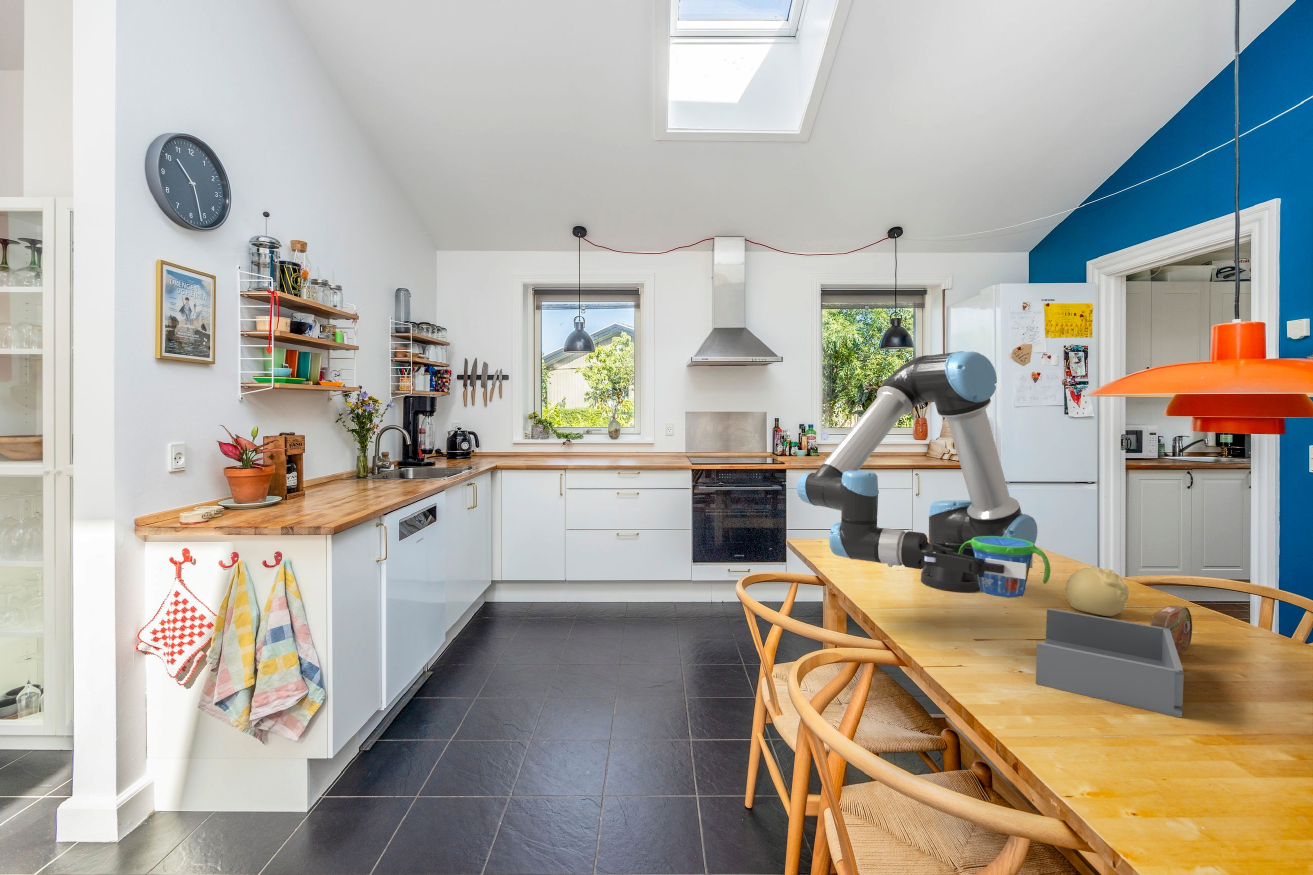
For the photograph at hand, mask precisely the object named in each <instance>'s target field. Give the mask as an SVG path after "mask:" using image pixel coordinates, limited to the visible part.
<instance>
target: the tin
mask: <svg viewBox="0 0 1313 875" xmlns="http://www.w3.org/2000/svg"><path fill="white" fill-rule="evenodd" d="M1149 625H1150V626H1156V627H1162V628H1168V629H1170V631H1171V634H1172V638H1173V641H1174V644H1175V647H1176V650H1177V653H1178V655H1180V654H1181V653H1183V652H1184V651H1186V650H1187V649H1189V646H1190V645H1191V641H1192V636H1193V619H1192V614H1191V611H1190V610H1189V608H1188V607H1186V606H1180V605H1179V606H1178V605H1168V606H1166V607H1164V608H1162V609H1161V610H1158V611H1156V612H1155V613H1154V614H1153V615H1152V617H1151V620H1150V624H1149Z"/></svg>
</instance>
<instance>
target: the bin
mask: <svg viewBox="0 0 1313 875" xmlns="http://www.w3.org/2000/svg"><path fill="white" fill-rule="evenodd" d="M1045 627H1046V628H1045V630H1046V631H1045V641H1044V642H1040V641H1037V642H1036V659H1035V660H1036V661H1035V664H1036V665H1035V666H1036V669H1035V684H1036V685H1039V686H1043V687H1048V688H1051V689H1056V690H1060V691H1061V690H1062V691H1065V692H1069V693H1075V694H1078V695H1082V696H1087V697H1091V698H1094V699H1100V700H1103V701H1108V702H1112V703H1117V704H1122V705H1126V706H1129V707H1134V708H1138V709H1143V710H1145V711H1151V712H1156V713H1159V714H1163V715H1166V716H1167V715H1168V716H1172V717H1175V718H1176V717H1177V718H1183V700H1184V679H1185V678H1184V677H1185V672H1184V670H1183V666H1182V663H1181V659H1180V657H1179V654H1178V653H1177V650H1176V647H1175V644H1174V641H1173V638H1172V634H1171V631H1170V629H1168V628H1162V627H1156V626H1150V624H1144V623H1138V622H1133V621H1131V622H1130V621H1127V620H1119V619H1114V618H1108V617H1104V616H1103V617H1102V616H1096V615H1090V614H1084V613H1080V612H1079V613H1078V612H1072V611H1066V610H1060V609H1055V608H1050V607H1049V608H1047V609H1046V626H1045Z"/></svg>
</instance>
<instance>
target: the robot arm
mask: <svg viewBox="0 0 1313 875" xmlns="http://www.w3.org/2000/svg"><path fill="white" fill-rule="evenodd" d="M997 378H998V377H997V372H996V370H995V367H994V364H993V363H992V362H991V360H990V359H989V358H987V357H986V356H985V355H984V354H981V353H980V352H977V351H962V350H961V351H956V352H947V353H939V354H930V355H929V354H927V355H921V356H917V357H914V358H912V359H910V360H909V361H907V362H906V363H904V364H903V365H901V366H900V367H898V368H897V369H896V370H895V371H894V372H892V374H890V376H889V377H888V378H886V379H885V381H884V382H883V383H882V384H881V386H880V387H879V388H878V390H877V391H876V396H877V397H875V399H874V400H873V401H872V403H871V404H870V405H869V407H868V408H867V409H866V410H865V412H863V414H862V415H861V417H860V418H859V419H858V420H857V421H856V423H855V424H854V425H853V426H852V427H851V428H850V430H849V431H848V432H847V433H846V435H845V436H844V437H843V438H842V439H841V440H840V442H839V443H838V445H836V447H835V448H834V450H832V452H831V453H830V454H829V455H828V456H827V458H826V459H824V462H822V464H821V465H820V466H819V468H818V469H817V470H816V471H815V472H808V473H805V474H803V475H801V476H800V477H799V479H798V481H797V484H796V492H797V495H798V497H799V499H800V500H801V501H802V502H804V503H806V504H809V505H812V506H814V507H823V508H828V509H832V510H836V511H841V515H840V516H841V520H840V522H835V523H834V524H832V526H831V529H830V531H829V532H830V534H829V536H828V543H829V549H830V551H831V553H832V554H833V555H835V556H838V557H843V558H846V559H850V560H858V561H865V562H872V563H879V564H887V567H889V568H892V567H893V566H896V567H897V566H898V567H902V565H903V566H904V568H909V569H916V570H921V572H920V582H921V583H922V584H924V585H926V586H928V587H931V588H934V589H938V590H942V591H949V592H958V593H960V592H961V593H973V592H978V591H982V590H981V589H980V587H979V583H978V577H984V571H985V573H987V574H994V575H1000V576H1007V577H1014V578H1020V579H1026V564H1025V563H1018V562H1011V561H1003V560H996V559H989V558H986V559H985V562H984V560H983V559H980V558H975V555H974V551H973V548H972V545H971V544H968V545H967V547H966V548H965V549H964V551H963V554H959V553H958V552H959V549H960V547H961V546H962V545H963V544H964V543H965V542H967V541H970V540H972V538H974V537H979V536H999V537H1010V538H1017V539H1022V540H1026V541H1030V542H1032V543H1034V545H1035V544H1036V542H1037V537H1038V524H1037V522H1036V520H1035V518H1034V517H1033V516H1031V515H1029V514H1027V513H1026V514H1025V513H1022V509H1021V506H1020V503H1019V501H1018V500H1017V499H1016V498H1014V497H1011V495H1010V493H1009V492H1010V491H1009V489H1008V485H1007V481H1006V478H1005V475H1004V471H1003V467H1002V463H1001V460H1000V456H999V452H998V449H997V445H996V441H995V439H994V434H993V431H992V428H991V424H990V420H989V417H988V414H987V408H988V407H989V406H990V404H991V403H992V401H991V398H992V397H993V395H994V394H995V392H996V390H997V386H996V384H997V383H998V379H997ZM924 403H934V404H935V408H936V411H937V414H938V415H939V417H943V418H944V419H946V420H947V424H948V428H949V431H950V434H951V438H952V441H953V445H954V448H955V451H956V455H957V458H958V462H959V465H960V468H961V469H960V470H961V472H962V475H963V478H964V482H965V486H966V489H967V492H968V495H969V499H955V500H954V499H953V500H937V501H933V502H932V503H931V504H930V507H929V515H928V536H927V534H925V533H924V532H919V531H910V530H908V531H907V532H906V531H905V530H903V529H896V528H887V527H886V528H885V527H878V510H879V508H878V505H879V493H880V492H879V490H880V489H879V479H878V477H879V476H878V475H877V473H875V472H873V471H868V470H867V471H866V470H860V469H861V468H862V466H864V464H865V463H866V461H867V460H868V459H869V458H870V456H871V455H872V454H873V453H874V451H875V450H876V449H877V448H878V447H879V445H880V444H881V443H882V441H884V439H885V437H886V436H887V435H888V434H889V432H890V431H891V430H892V429H893V427H895V425H896V424H897V423H898V422H899V420H900V419H901V418H902V416H903V415H908V414H910V413H911V412H912V411H913V409H915V407H916V406H919V405H920V404H924ZM1033 557H1034V553H1033V554H1032V558H1031V562H1030V568H1029V569H1033V565H1034V564H1033V563H1034V562H1033V561H1034V558H1033ZM977 574H978V576H977Z"/></svg>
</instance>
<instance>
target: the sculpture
mask: <svg viewBox="0 0 1313 875" xmlns="http://www.w3.org/2000/svg"><path fill="white" fill-rule="evenodd" d="M1128 588H1129V586H1128V585H1127V584H1126V583H1125V582H1124V581H1123V578H1122V577H1121V576H1120V575H1118V574H1117V573H1115V572H1114V571H1113V570H1112V569H1109V568H1101V567H1098V566H1095V565H1092V566H1090V567H1088V568H1087V567H1086V568H1081V569H1078V570H1077V571H1073V573H1071V574H1070V576H1069V577H1068V579H1067V581H1066V585H1065V595H1066V598H1067V601H1068V603H1069V605H1070V606H1071V607H1072V608H1073V609H1075V610H1077V611H1081V612H1085V613H1088V614H1094V615H1099V616H1101V617H1102V616H1103V617H1115V616H1116V615H1118V614H1120V613H1122V612H1124V610H1125V608H1126V604H1127V603H1128V599H1129V593H1130V591H1129V589H1128Z"/></svg>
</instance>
